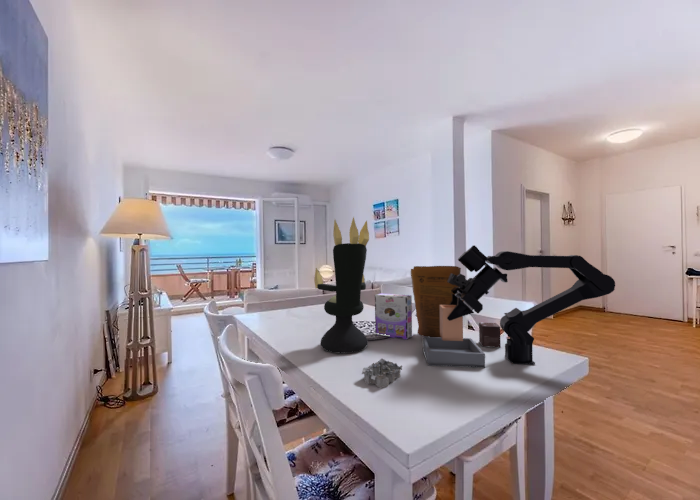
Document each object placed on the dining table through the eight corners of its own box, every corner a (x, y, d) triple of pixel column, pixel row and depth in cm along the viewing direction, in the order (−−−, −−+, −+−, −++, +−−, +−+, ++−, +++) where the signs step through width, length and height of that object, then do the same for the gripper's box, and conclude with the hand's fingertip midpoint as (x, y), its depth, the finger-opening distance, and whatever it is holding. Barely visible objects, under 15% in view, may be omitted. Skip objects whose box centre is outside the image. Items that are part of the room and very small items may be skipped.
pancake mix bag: (459, 343, 114) (458, 266, 114) (410, 335, 125) (409, 265, 125) (463, 338, 119) (463, 265, 119) (416, 331, 130) (416, 264, 130)
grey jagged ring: (383, 390, 76) (383, 374, 76) (359, 382, 81) (358, 367, 81) (405, 376, 85) (405, 361, 85) (382, 370, 89) (381, 355, 89)
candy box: (412, 336, 123) (412, 294, 123) (407, 340, 118) (406, 296, 118) (381, 332, 130) (380, 292, 130) (374, 335, 125) (374, 294, 125)
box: (500, 348, 108) (500, 326, 108) (482, 347, 109) (482, 326, 109) (496, 342, 114) (496, 322, 114) (478, 342, 115) (478, 322, 115)
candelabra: (361, 337, 122) (360, 222, 122) (385, 355, 101) (384, 216, 101) (313, 342, 116) (313, 221, 116) (328, 362, 95) (327, 214, 95)
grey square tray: (471, 350, 106) (471, 338, 106) (485, 367, 90) (484, 353, 90) (422, 348, 108) (422, 336, 108) (428, 365, 92) (428, 351, 92)
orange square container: (458, 335, 101) (458, 304, 101) (463, 341, 96) (462, 308, 96) (439, 335, 102) (439, 304, 102) (442, 340, 96) (442, 308, 96)
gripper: (457, 263, 108) (424, 295, 109) (470, 266, 89) (431, 304, 91) (481, 286, 107) (448, 318, 108) (499, 293, 88) (459, 332, 90)
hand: (446, 317), depth 99 cm, fingers closed on orange square container, 6 cm apart
